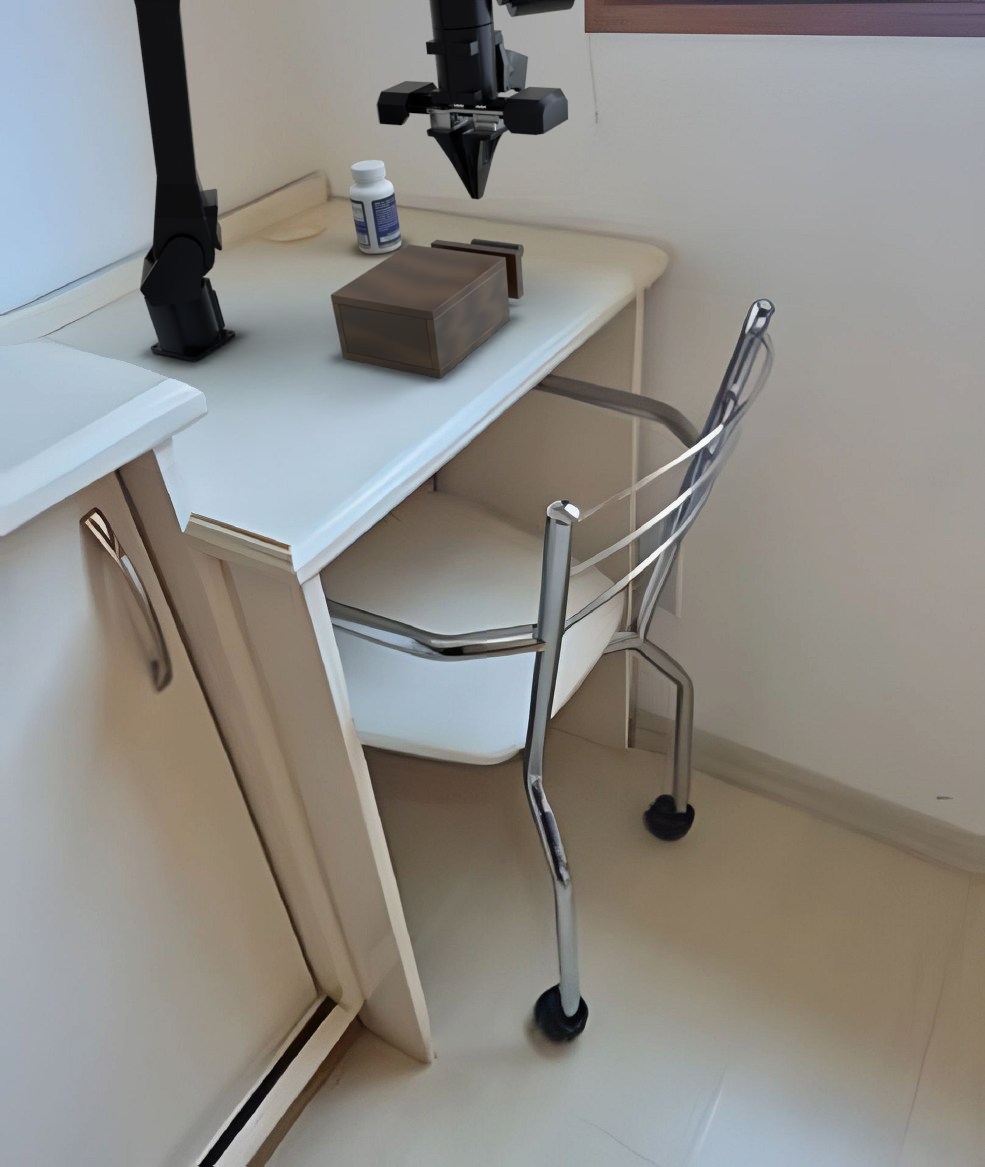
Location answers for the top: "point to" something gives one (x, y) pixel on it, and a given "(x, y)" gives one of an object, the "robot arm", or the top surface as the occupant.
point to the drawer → (495, 249)
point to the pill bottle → (374, 208)
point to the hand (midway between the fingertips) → (477, 198)
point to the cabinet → (422, 309)
